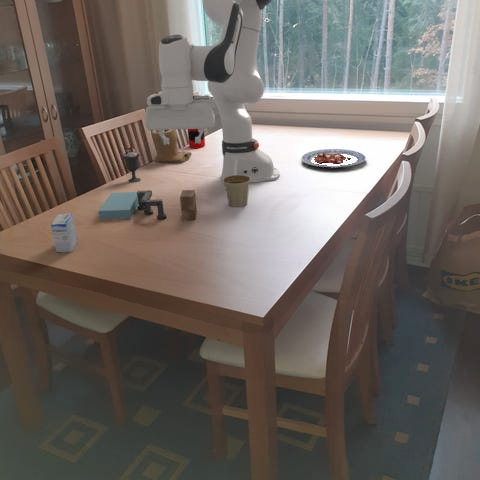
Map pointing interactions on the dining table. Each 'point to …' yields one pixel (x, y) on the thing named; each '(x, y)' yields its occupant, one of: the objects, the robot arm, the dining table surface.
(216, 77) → the robot arm
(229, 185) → the flower pot
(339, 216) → the dining table surface
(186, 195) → the walnut block
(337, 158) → the ceramic plate
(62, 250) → the medicine box
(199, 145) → the soda can
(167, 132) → the tan hollow bent piece
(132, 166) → the sundae
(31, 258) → the dining table surface
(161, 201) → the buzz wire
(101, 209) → the platform
